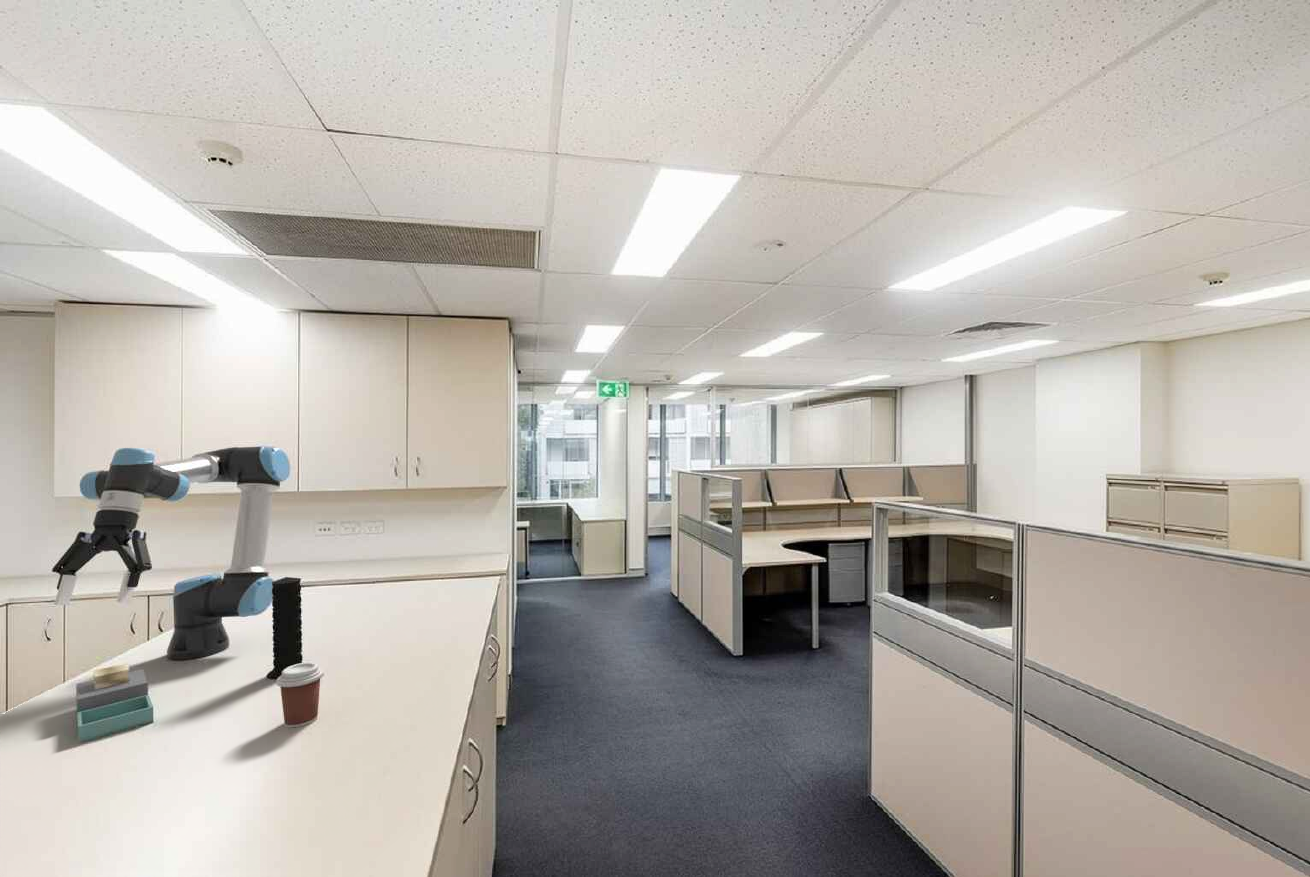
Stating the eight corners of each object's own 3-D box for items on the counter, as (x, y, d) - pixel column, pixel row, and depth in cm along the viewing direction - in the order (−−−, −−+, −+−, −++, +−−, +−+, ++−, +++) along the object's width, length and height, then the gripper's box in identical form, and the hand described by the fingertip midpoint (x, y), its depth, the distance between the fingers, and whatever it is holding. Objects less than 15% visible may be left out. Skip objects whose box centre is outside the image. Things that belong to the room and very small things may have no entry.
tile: (127, 675, 142) (127, 663, 142) (129, 681, 138) (129, 669, 138) (94, 682, 138) (93, 670, 138) (95, 689, 134) (94, 676, 134)
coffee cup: (333, 714, 131) (332, 662, 131) (297, 733, 122) (296, 678, 122) (304, 709, 134) (303, 658, 134) (267, 727, 125) (266, 673, 125)
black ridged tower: (257, 678, 153) (288, 680, 151) (255, 580, 154) (286, 581, 152) (287, 664, 163) (317, 666, 161) (286, 572, 163) (315, 573, 161)
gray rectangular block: (142, 692, 146) (142, 669, 146) (148, 707, 137) (147, 682, 137) (76, 708, 137) (76, 684, 137) (77, 725, 128) (77, 699, 128)
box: (148, 709, 136) (148, 694, 136) (153, 722, 129) (153, 707, 129) (77, 728, 127) (77, 712, 127) (78, 743, 120) (78, 726, 121)
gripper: (49, 509, 131) (18, 604, 124) (160, 506, 132) (135, 600, 125) (79, 516, 138) (51, 606, 131) (184, 513, 139) (162, 602, 132)
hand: (92, 603), depth 128 cm, fingers open, 13 cm apart
